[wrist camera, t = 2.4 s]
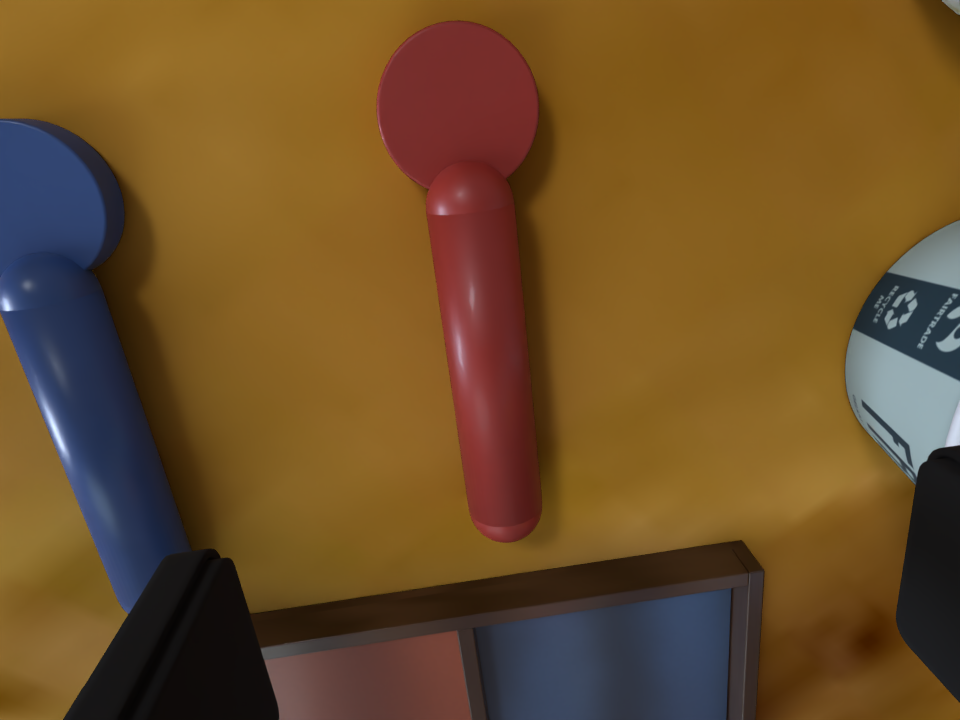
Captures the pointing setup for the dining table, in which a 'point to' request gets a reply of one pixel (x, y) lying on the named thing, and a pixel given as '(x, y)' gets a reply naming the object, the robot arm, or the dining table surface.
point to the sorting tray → (533, 645)
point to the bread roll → (953, 5)
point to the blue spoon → (81, 345)
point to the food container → (910, 354)
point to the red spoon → (474, 246)
